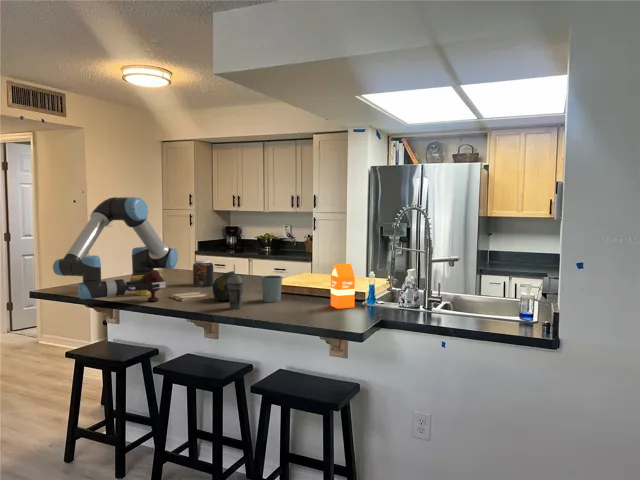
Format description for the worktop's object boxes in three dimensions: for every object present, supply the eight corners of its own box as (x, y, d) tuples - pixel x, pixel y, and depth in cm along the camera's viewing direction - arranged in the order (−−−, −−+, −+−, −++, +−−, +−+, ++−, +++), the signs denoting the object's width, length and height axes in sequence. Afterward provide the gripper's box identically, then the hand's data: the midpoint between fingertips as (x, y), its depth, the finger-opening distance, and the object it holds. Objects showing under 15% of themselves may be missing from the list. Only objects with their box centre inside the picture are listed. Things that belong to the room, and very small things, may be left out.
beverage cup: (229, 310, 217) (229, 266, 216) (225, 307, 224) (224, 264, 222) (245, 308, 221) (245, 265, 219) (240, 305, 227) (240, 263, 226)
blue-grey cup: (257, 300, 240) (257, 276, 239) (273, 297, 247) (272, 274, 246) (271, 303, 233) (271, 278, 232) (286, 300, 240) (286, 276, 239)
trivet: (169, 296, 249) (169, 294, 249) (197, 293, 259) (196, 290, 258) (182, 301, 237) (181, 298, 237) (210, 297, 247) (209, 294, 247)
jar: (210, 287, 279) (210, 261, 278) (190, 287, 279) (190, 261, 278) (215, 283, 290) (215, 259, 289) (196, 283, 291) (195, 258, 290)
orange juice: (330, 305, 229) (330, 263, 227) (347, 304, 232) (347, 262, 231) (337, 308, 222) (337, 265, 220) (354, 307, 225) (355, 264, 224)
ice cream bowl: (168, 298, 243) (167, 268, 242) (158, 302, 232) (158, 271, 231) (147, 297, 244) (147, 268, 243) (137, 301, 233) (136, 271, 232)
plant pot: (127, 295, 252) (127, 277, 252) (142, 292, 262) (141, 274, 261) (143, 297, 248) (143, 278, 248) (157, 293, 258) (157, 275, 257)
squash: (201, 289, 239) (218, 268, 235) (220, 286, 253) (236, 266, 248) (219, 310, 235) (236, 289, 230) (237, 306, 249) (253, 285, 244)
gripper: (107, 292, 236) (152, 287, 250) (123, 299, 218) (170, 293, 232) (106, 276, 235) (151, 272, 249) (122, 283, 217) (169, 278, 231)
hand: (160, 282), depth 240 cm, fingers closed on ice cream bowl, 11 cm apart
